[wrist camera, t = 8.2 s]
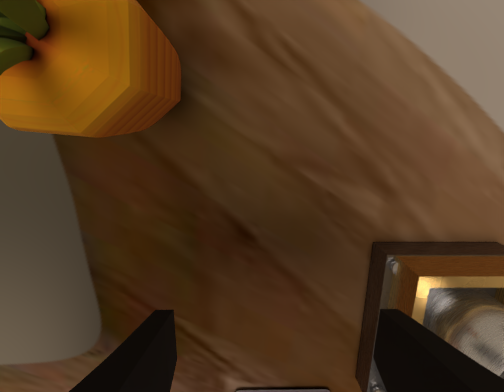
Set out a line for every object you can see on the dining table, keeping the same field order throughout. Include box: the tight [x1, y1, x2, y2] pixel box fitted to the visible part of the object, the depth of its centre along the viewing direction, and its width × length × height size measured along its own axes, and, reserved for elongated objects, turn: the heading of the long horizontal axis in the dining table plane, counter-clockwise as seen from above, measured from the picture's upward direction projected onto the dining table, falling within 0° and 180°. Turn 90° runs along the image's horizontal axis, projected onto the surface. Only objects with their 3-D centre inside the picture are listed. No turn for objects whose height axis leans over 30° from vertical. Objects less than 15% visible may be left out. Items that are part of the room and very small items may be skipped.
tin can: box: [422, 288, 504, 379], centre depth 15 cm, size 6×4×6 cm
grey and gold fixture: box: [356, 242, 504, 392], centre depth 19 cm, size 12×9×4 cm
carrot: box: [0, 0, 181, 138], centre depth 9 cm, size 5×5×15 cm
